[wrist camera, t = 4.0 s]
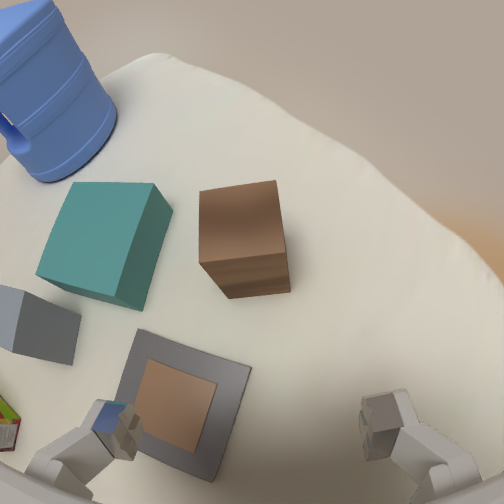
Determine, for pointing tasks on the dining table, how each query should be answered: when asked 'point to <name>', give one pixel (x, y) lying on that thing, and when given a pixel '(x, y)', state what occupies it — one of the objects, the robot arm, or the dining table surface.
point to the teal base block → (107, 241)
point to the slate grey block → (37, 327)
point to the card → (182, 402)
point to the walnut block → (243, 240)
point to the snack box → (8, 427)
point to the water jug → (49, 93)
